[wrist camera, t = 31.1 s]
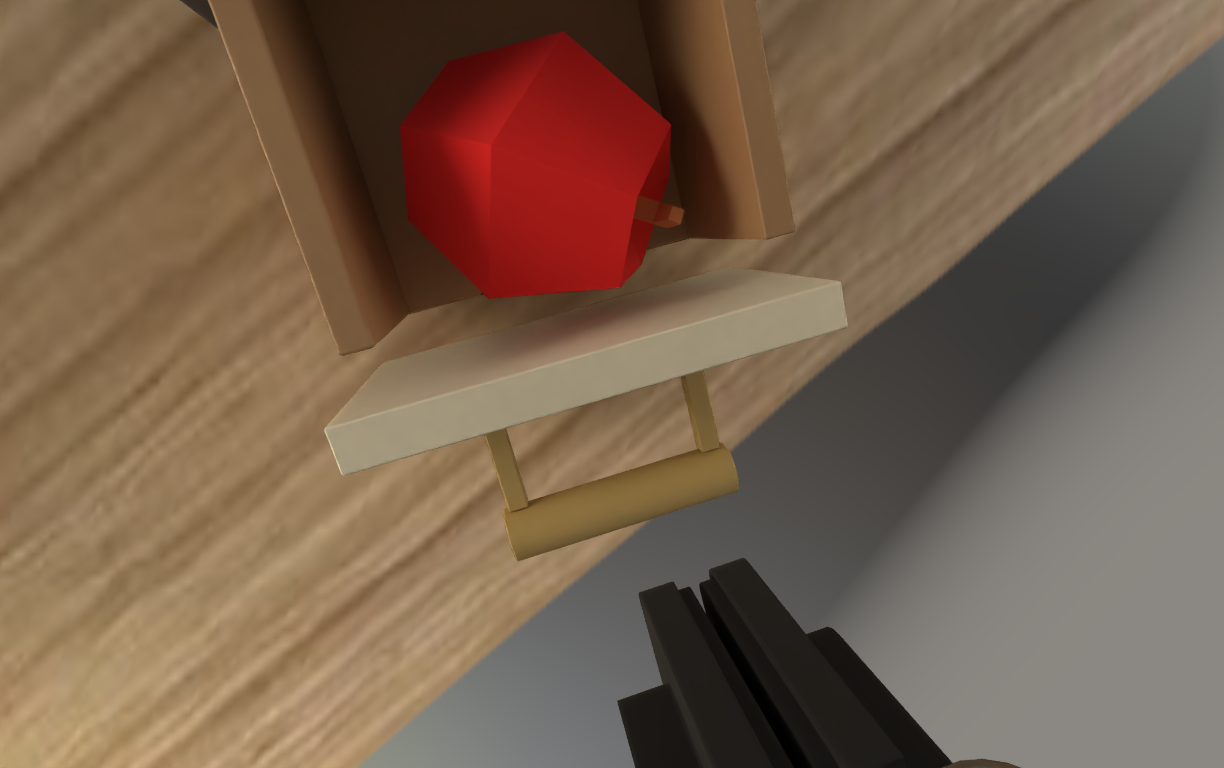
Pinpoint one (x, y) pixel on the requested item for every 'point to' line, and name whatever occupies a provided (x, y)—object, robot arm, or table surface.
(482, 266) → the apple
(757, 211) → the drawer
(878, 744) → the robot arm
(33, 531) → the table surface
